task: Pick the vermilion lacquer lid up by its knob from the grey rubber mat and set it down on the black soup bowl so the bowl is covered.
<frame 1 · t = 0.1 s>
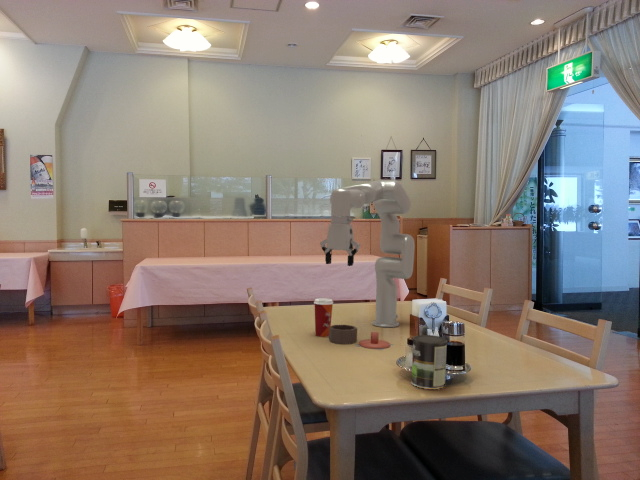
hand: (339, 264, 211), 31 cm above the table, tool pointing down, fingers open, 9 cm apart
bowl: (342, 342, 215), on the table
coffee can: (428, 385, 165), on the table
coffee cup: (322, 335, 227), on the table
mat: (374, 346, 210), on the table
lid: (374, 345, 210), point 1 cm above the table, touching mat
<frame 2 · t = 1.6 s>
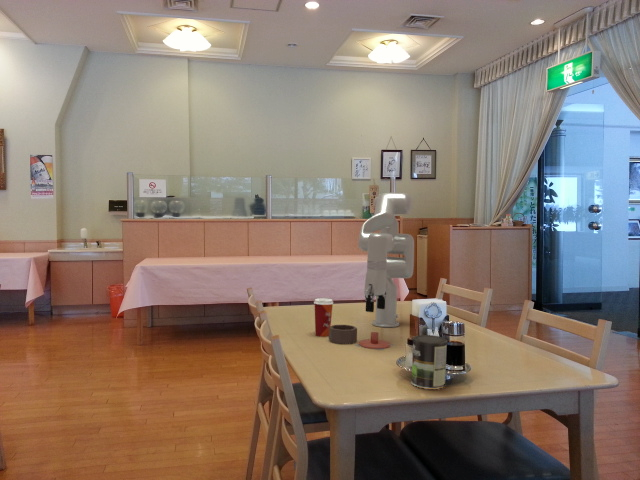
hand: (375, 310, 209), 14 cm above the table, tool pointing down, fingers open, 9 cm apart
nothing on the table moved.
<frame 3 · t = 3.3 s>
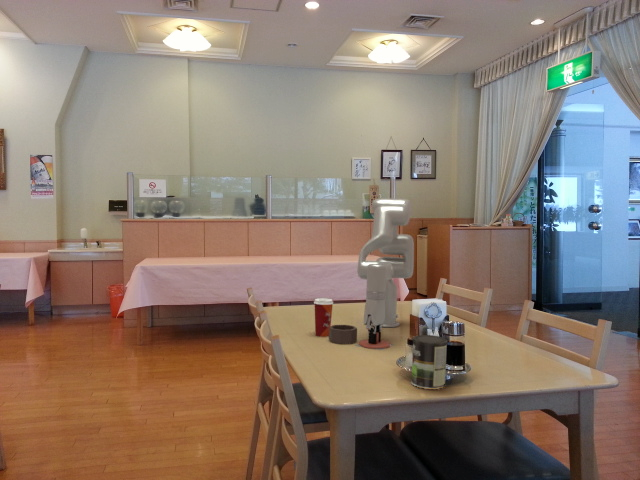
hand: (374, 342, 210), 2 cm above the table, tool pointing down, fingers closed on lid, 3 cm apart
lid: (374, 344, 210), point 1 cm above the table, touching gripper
everything else where it was.
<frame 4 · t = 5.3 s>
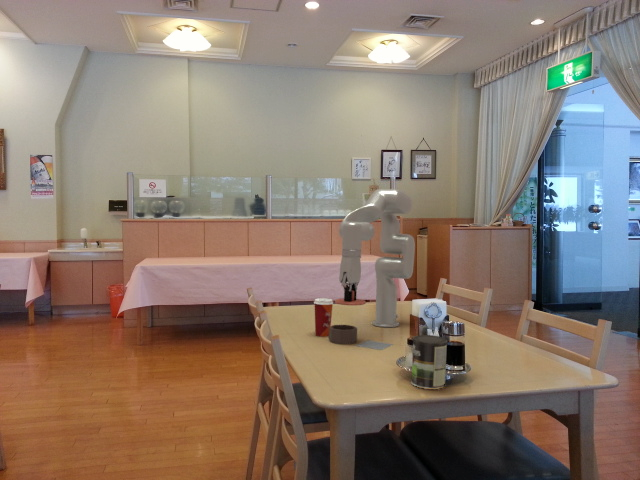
hand: (350, 300, 213), 17 cm above the table, tool pointing down, fingers closed on lid, 3 cm apart
lid: (350, 302, 213), point 16 cm above the table, touching gripper
everything else where it was.
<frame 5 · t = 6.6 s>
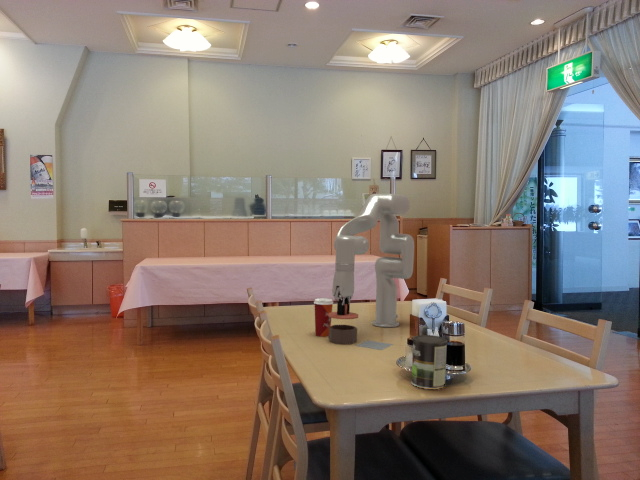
hand: (343, 313, 214), 12 cm above the table, tool pointing down, fingers closed on lid, 3 cm apart
lid: (343, 316, 214), point 10 cm above the table, touching gripper
everything else where it was.
when the fingers open (9 cm above the table, at t = 7.3 s): lid drops 2 cm, resting on bowl.
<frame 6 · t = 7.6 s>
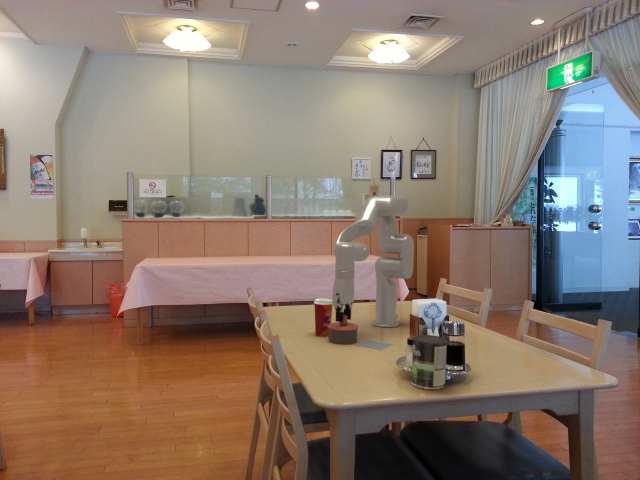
hand: (343, 320, 215), 9 cm above the table, tool pointing down, fingers open, 5 cm apart
lid: (343, 327, 215), point 6 cm above the table, touching bowl
everything else where it was.
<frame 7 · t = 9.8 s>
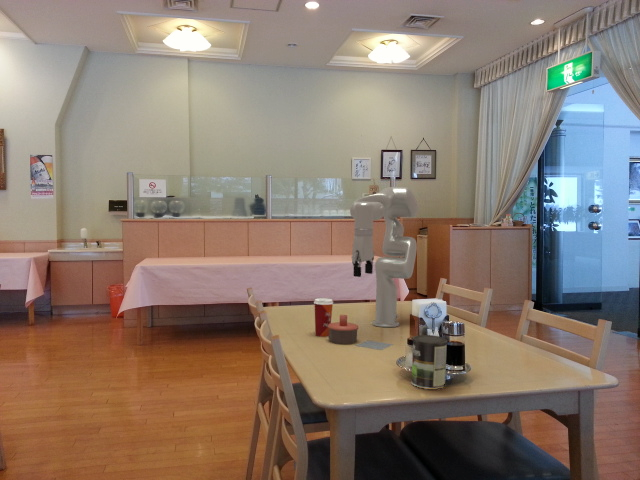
hand: (363, 274, 221), 26 cm above the table, tool pointing down, fingers open, 9 cm apart
nothing on the table moved.
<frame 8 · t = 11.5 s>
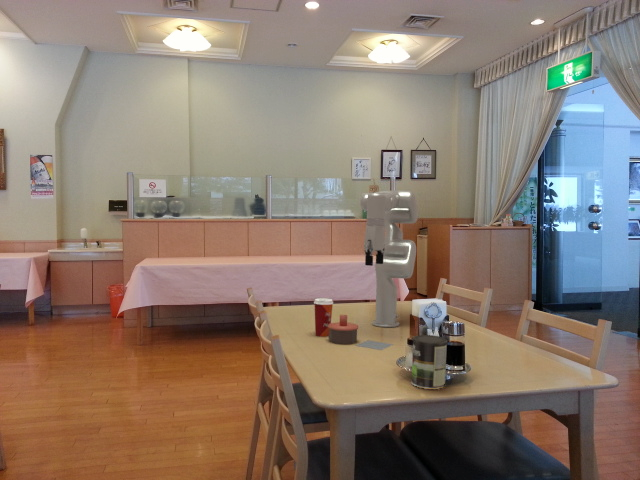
hand: (374, 264, 224), 30 cm above the table, tool pointing down, fingers open, 9 cm apart
nothing on the table moved.
at the end: lid 0.1 cm off-centre on the bowl, point 6.0 cm above the bowl's base; lid tilted 0°; the gripper is holding nothing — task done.
